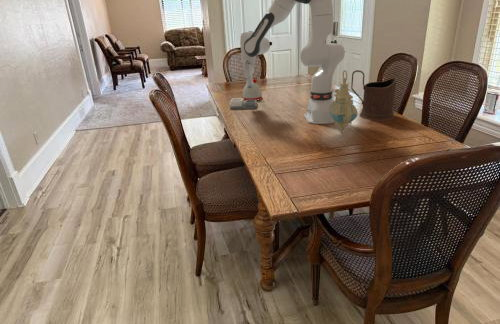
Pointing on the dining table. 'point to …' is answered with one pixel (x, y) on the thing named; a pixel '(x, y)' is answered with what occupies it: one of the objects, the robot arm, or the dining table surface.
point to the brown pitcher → (377, 99)
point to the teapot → (343, 106)
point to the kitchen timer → (252, 92)
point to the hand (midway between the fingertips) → (249, 82)
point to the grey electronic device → (243, 104)
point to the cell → (250, 83)
